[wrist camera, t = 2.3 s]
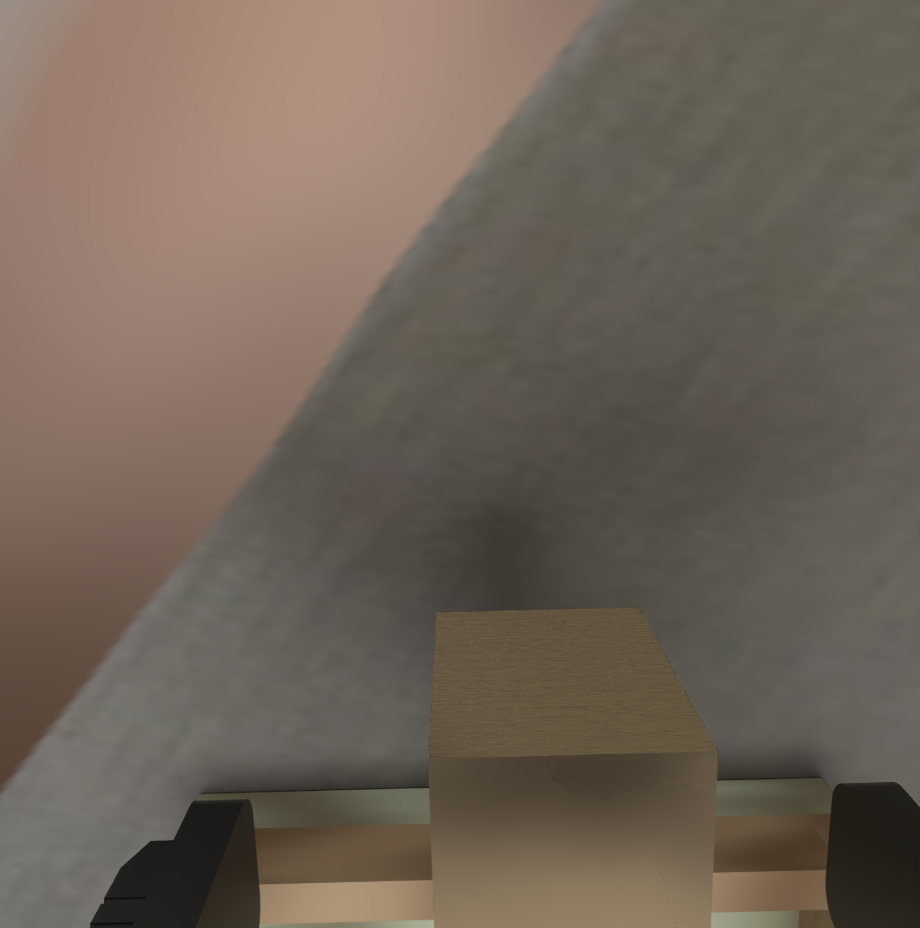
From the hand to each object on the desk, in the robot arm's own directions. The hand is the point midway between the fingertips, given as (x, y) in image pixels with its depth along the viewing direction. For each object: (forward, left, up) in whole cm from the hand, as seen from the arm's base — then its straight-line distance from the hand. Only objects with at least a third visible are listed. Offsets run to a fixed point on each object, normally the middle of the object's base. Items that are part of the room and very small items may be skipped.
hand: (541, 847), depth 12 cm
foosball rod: (0, +6, -8) cm, 10 cm away
